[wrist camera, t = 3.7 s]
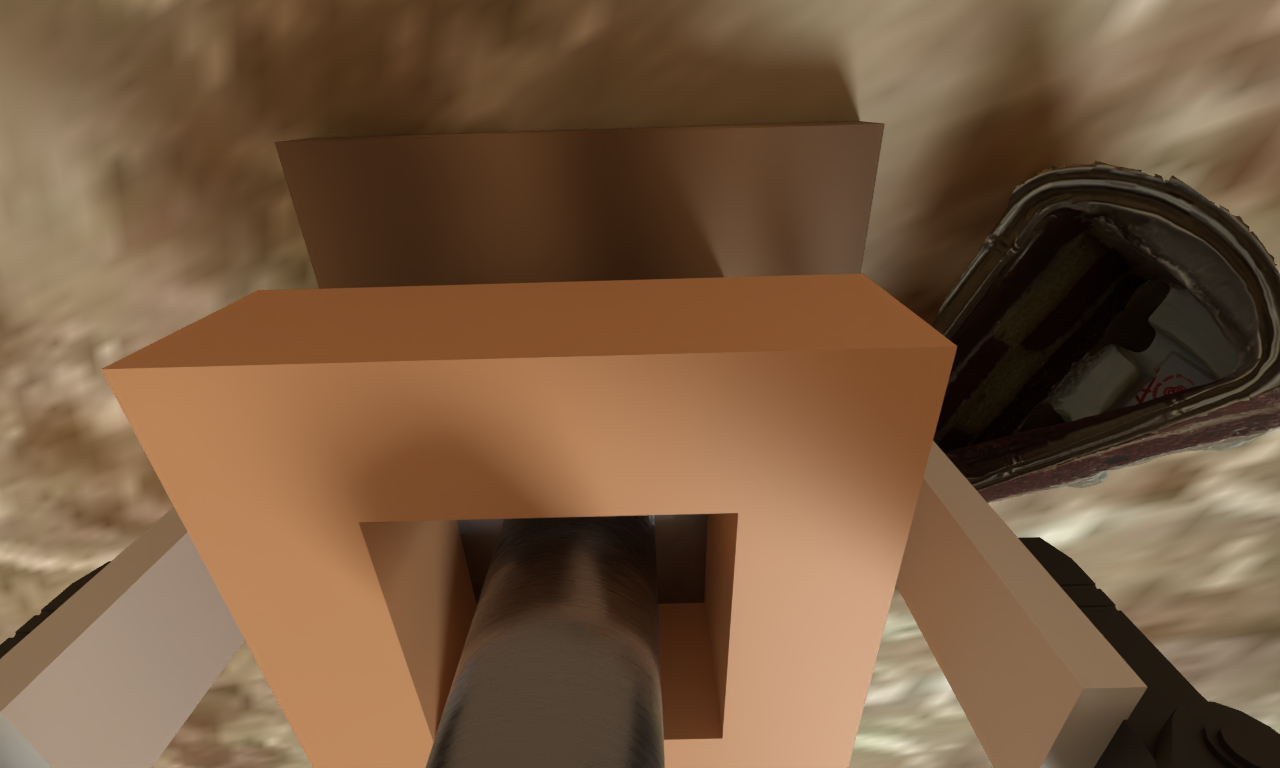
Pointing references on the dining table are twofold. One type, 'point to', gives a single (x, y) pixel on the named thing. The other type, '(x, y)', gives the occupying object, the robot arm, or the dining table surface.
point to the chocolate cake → (1078, 317)
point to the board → (585, 204)
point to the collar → (550, 485)
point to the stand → (567, 640)
